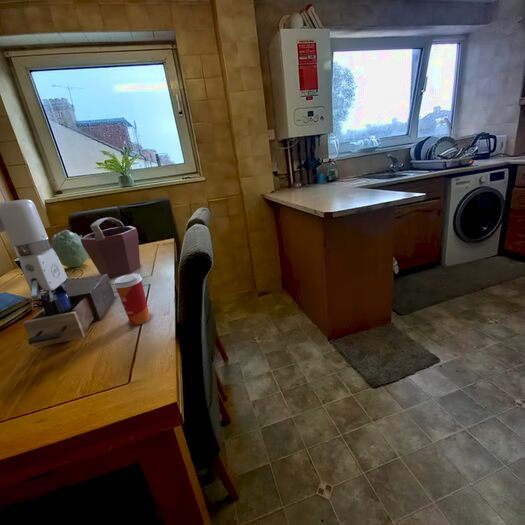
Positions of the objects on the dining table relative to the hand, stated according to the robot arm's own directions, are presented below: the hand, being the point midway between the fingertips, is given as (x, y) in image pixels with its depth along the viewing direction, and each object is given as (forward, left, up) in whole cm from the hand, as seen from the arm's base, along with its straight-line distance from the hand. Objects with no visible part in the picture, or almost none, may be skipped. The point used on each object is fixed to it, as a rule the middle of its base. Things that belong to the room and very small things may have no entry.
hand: (59, 308), depth 79 cm
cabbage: (-27, +76, -9) cm, 81 cm away
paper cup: (+20, 0, -9) cm, 22 cm away
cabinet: (0, +14, -9) cm, 16 cm away
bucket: (0, +55, -9) cm, 55 cm away
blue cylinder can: (0, 0, -1) cm, 1 cm away
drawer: (0, -1, -8) cm, 8 cm away
